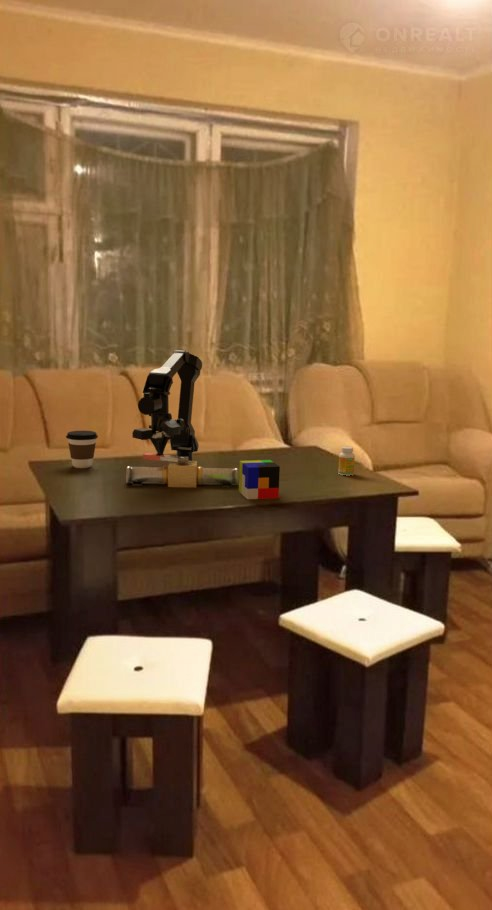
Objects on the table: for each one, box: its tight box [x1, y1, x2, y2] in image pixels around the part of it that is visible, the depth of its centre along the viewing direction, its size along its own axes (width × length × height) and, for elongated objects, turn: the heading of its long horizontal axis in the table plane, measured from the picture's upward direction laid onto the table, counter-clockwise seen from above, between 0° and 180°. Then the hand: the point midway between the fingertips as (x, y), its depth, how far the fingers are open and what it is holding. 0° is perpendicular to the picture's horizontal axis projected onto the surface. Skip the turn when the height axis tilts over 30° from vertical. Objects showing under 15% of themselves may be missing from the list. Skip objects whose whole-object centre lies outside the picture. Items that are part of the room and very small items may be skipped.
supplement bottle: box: [337, 446, 356, 477], centre depth 279 cm, size 5×5×10 cm
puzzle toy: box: [238, 459, 281, 500], centre depth 247 cm, size 10×10×10 cm
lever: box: [142, 452, 188, 463], centre depth 259 cm, size 15×4×2 cm, turn 69°
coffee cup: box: [65, 430, 99, 469], centre depth 280 cm, size 11×11×12 cm
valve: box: [125, 460, 239, 488], centre depth 258 cm, size 8×36×7 cm, turn 93°
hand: (160, 456), depth 263 cm, fingers closed
